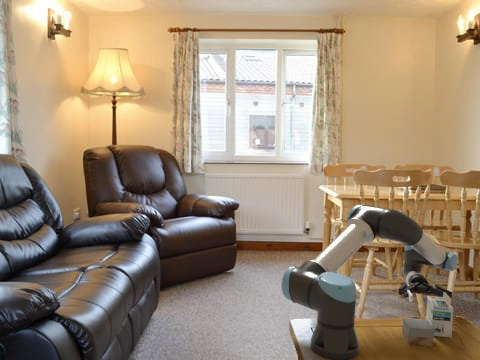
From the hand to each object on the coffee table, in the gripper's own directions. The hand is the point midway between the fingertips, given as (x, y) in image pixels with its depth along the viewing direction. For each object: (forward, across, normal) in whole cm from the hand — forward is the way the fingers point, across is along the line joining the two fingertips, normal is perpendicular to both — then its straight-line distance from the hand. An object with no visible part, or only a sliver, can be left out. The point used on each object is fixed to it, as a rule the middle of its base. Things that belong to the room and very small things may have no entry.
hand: (430, 300), depth 171 cm
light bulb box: (+12, 0, -7) cm, 14 cm away
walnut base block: (+21, +9, -7) cm, 24 cm away
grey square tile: (+21, +9, -4) cm, 23 cm away
